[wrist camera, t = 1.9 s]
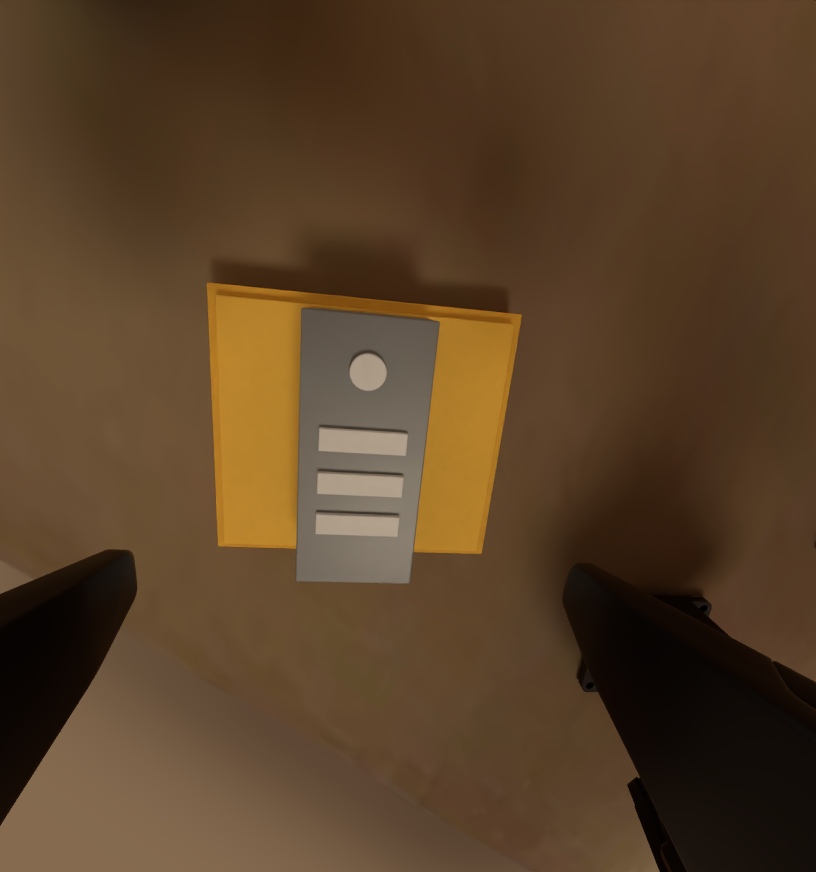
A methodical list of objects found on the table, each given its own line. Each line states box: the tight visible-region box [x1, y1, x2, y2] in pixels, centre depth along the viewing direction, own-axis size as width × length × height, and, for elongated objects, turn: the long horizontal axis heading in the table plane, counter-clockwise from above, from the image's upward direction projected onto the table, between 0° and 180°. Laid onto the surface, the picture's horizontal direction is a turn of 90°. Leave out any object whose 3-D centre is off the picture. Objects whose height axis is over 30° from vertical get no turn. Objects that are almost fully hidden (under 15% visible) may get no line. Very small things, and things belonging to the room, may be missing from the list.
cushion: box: [207, 282, 522, 554], centre depth 18 cm, size 11×12×2 cm
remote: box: [296, 307, 440, 584], centre depth 16 cm, size 10×4×3 cm, turn 175°
